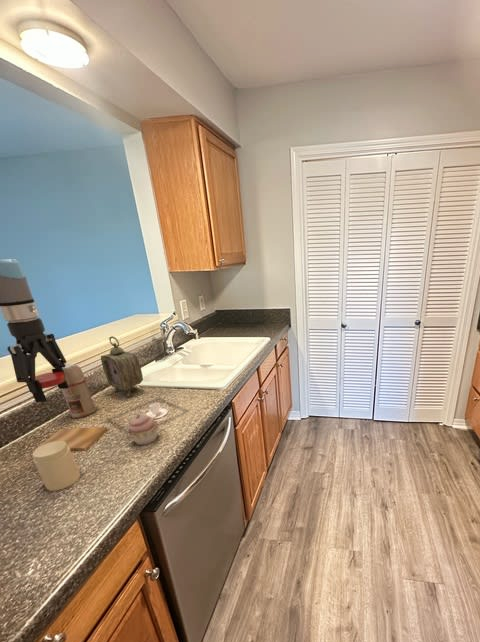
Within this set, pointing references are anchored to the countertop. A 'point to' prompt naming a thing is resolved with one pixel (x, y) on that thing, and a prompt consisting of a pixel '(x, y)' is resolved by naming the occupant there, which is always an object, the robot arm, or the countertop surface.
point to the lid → (50, 379)
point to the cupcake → (143, 429)
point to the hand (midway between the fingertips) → (53, 394)
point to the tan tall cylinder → (77, 392)
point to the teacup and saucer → (156, 411)
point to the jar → (56, 465)
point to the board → (76, 437)
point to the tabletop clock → (121, 369)
